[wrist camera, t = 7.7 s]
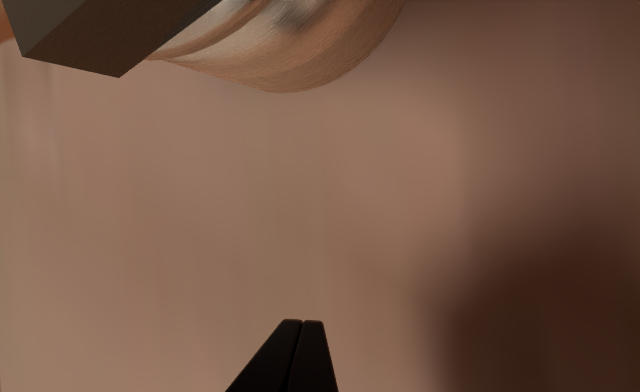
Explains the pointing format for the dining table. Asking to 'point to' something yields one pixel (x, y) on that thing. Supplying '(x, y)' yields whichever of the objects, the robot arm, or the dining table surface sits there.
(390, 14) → the cooker pot
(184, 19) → the cooker lid
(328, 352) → the robot arm
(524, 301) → the dining table surface
